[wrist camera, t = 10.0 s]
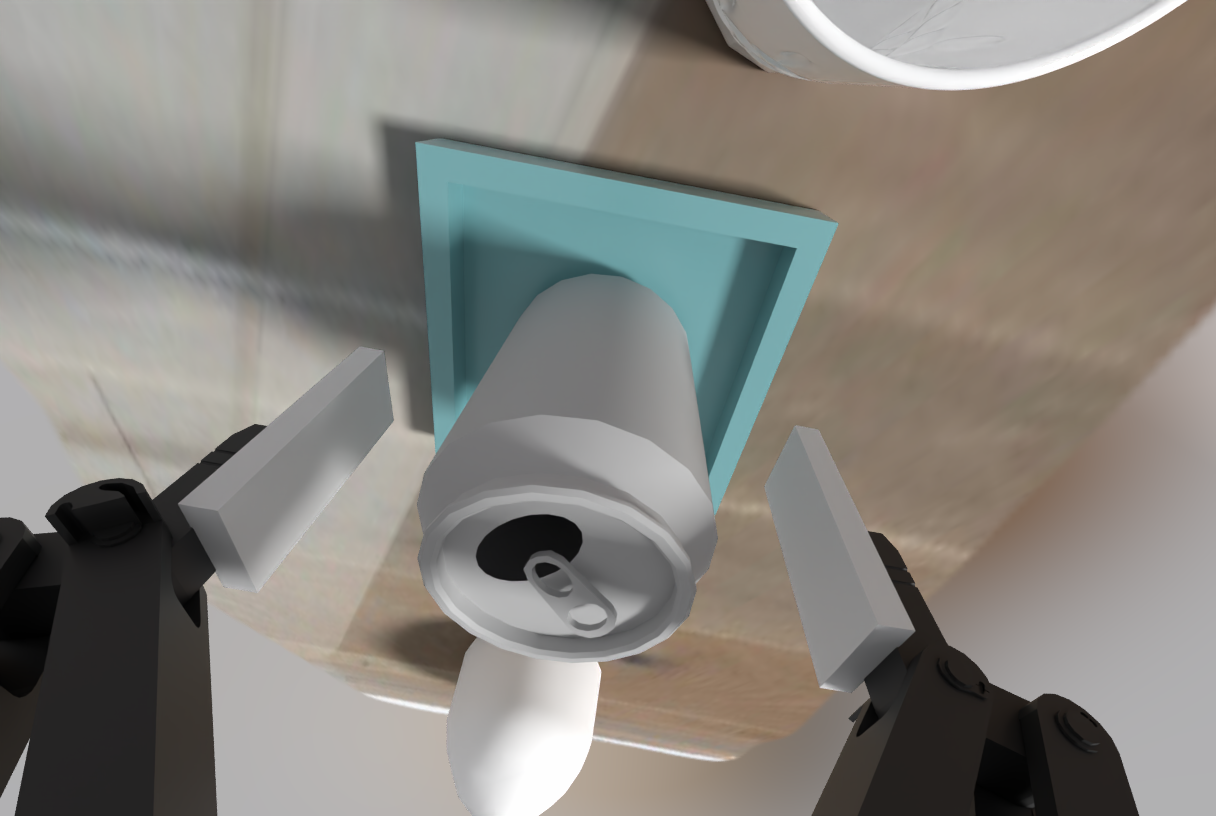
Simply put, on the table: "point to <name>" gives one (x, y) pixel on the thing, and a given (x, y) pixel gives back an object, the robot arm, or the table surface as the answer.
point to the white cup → (927, 37)
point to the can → (574, 482)
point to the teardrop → (518, 729)
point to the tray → (611, 272)
